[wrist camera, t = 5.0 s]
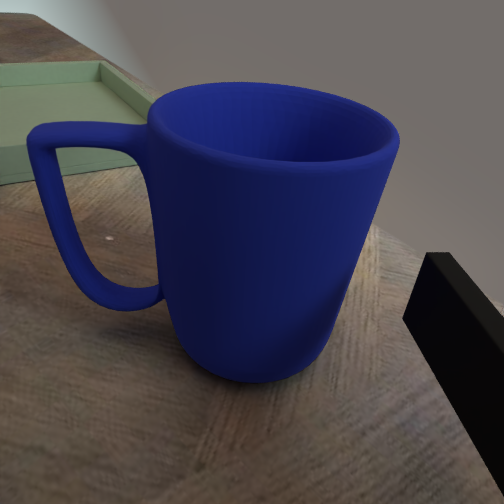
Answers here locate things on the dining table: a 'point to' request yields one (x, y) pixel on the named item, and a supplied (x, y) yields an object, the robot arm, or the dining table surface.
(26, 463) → the dining table surface
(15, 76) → the tray
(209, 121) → the mug
